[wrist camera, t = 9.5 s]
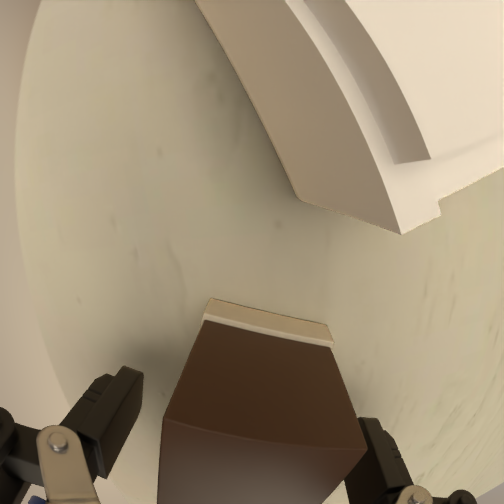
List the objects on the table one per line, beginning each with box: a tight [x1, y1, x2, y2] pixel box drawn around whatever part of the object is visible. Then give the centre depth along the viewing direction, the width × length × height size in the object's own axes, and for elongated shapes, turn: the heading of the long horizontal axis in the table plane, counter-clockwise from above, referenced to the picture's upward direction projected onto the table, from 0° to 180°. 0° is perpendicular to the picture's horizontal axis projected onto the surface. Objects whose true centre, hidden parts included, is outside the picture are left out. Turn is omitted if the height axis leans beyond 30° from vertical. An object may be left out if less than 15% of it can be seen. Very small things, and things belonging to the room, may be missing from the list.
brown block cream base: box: [157, 298, 368, 504], centre depth 9 cm, size 12×5×6 cm, turn 166°
